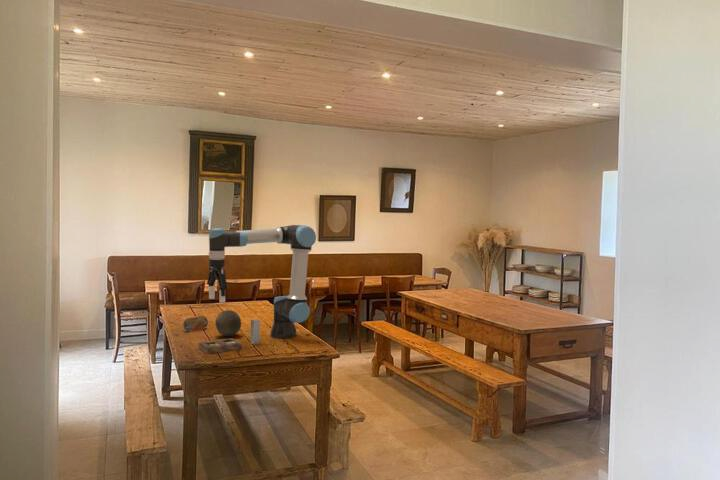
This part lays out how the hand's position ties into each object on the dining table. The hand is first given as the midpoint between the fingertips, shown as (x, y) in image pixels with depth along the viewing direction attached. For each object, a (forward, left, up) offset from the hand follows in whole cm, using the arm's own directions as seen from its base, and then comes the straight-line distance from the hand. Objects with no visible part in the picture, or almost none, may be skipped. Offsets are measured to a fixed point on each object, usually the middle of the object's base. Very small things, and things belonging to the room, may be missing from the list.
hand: (216, 300), depth 264 cm
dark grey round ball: (-18, -27, -26) cm, 41 cm away
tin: (-8, -52, -26) cm, 59 cm away
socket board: (-4, -4, -26) cm, 27 cm away
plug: (-24, -5, -26) cm, 36 cm away
